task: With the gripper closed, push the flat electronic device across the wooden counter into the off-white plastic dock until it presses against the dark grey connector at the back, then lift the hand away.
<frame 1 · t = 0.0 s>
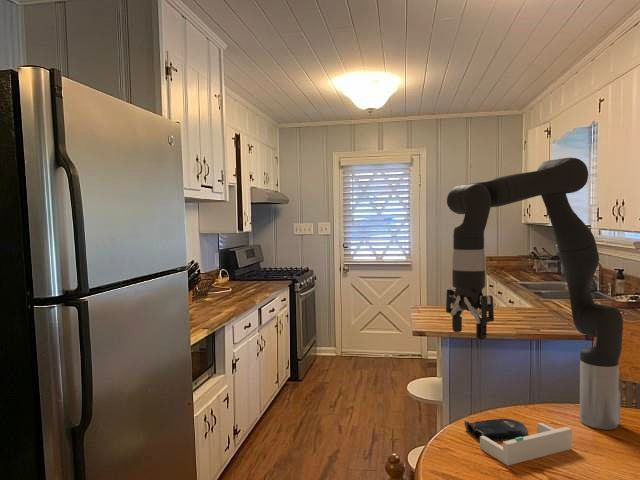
hand: (468, 335, 114), 29 cm above the table, tool pointing down, fingers open, 8 cm apart
electronic device: (498, 435, 126), on the table
charging dock: (515, 443, 121), on the table
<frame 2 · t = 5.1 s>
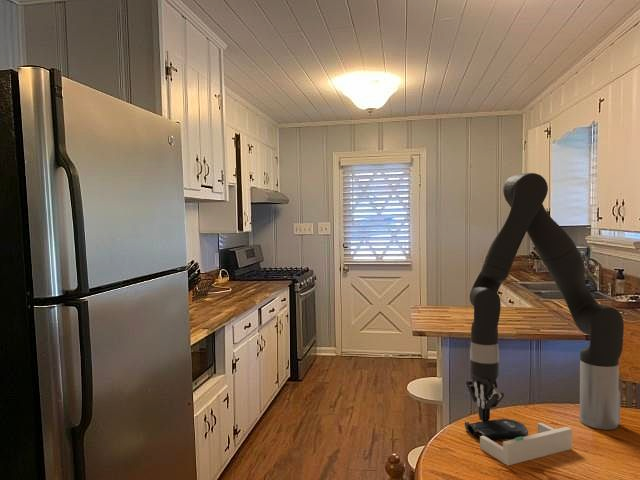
hand: (484, 420, 132), 2 cm above the table, tool pointing down, fingers closed
nothing on the table moved.
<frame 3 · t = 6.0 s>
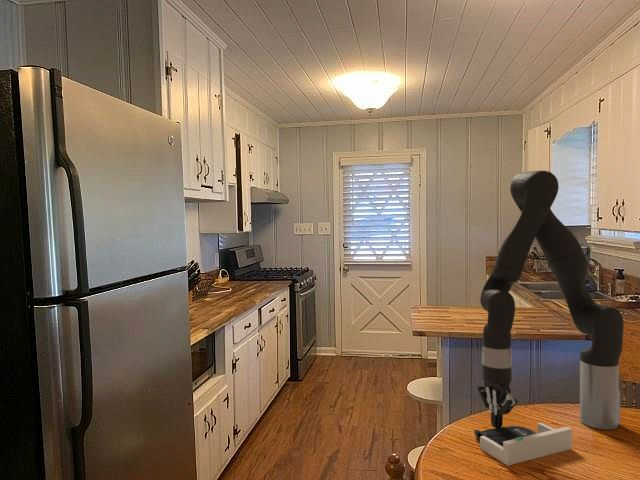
hand: (496, 426, 127), 2 cm above the table, tool pointing down, fingers closed
electronic device: (509, 444, 122), on the table
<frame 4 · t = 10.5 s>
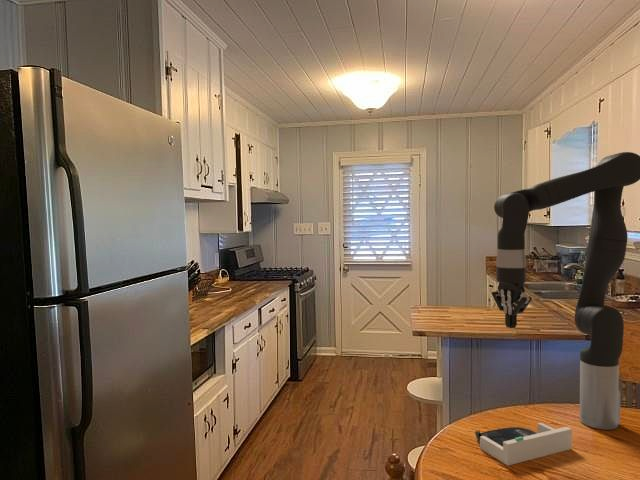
hand: (510, 327, 132), 27 cm above the table, tool pointing down, fingers closed
nothing on the table moved.
at the end: electronic device 1.3 cm from the target spot, on the table; electronic device moved 5.7 cm from its start; electronic device tilted 0° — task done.
